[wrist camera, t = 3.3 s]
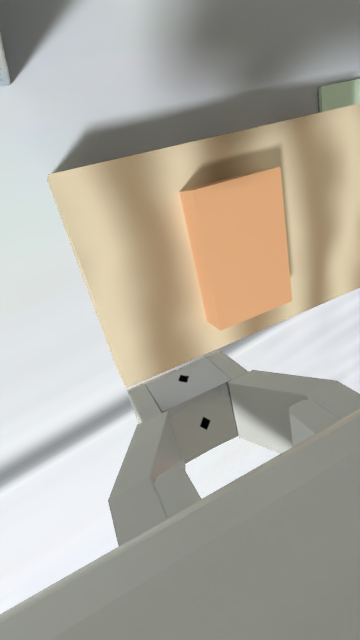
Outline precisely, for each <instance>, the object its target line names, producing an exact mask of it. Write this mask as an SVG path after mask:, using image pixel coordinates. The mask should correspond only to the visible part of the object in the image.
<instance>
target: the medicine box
mask: <svg viewBox="0 0 360 640" xmlns="http://www.w3.org/2000/svg"><path fill="white" fill-rule="evenodd" d="M6 85H10V76H9V70H8V66H7V61H6V57H5V53H4V48H3V43H2V38H1V33H0V86H6Z"/></svg>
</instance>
